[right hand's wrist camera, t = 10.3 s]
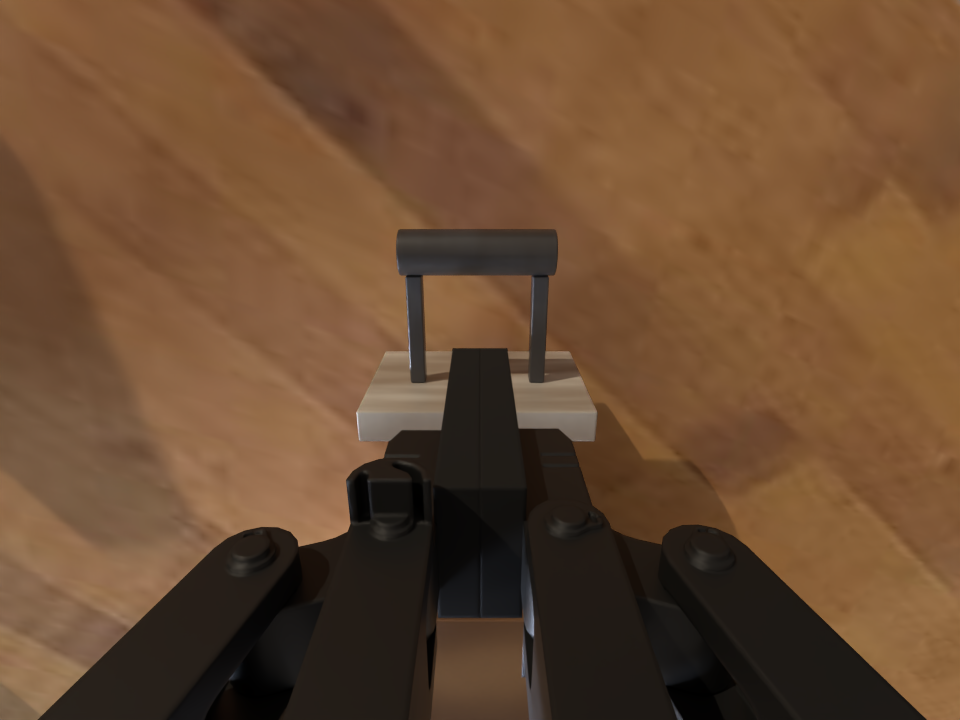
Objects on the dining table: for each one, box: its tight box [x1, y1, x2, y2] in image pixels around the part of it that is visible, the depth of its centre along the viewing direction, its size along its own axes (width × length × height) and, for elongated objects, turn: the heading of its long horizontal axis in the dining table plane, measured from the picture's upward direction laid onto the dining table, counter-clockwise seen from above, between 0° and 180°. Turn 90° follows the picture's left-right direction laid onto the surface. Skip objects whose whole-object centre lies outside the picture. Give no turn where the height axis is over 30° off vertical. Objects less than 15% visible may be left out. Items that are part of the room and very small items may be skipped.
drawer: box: [357, 229, 597, 441], centre depth 24 cm, size 25×8×6 cm, turn 0°
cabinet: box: [431, 609, 529, 720], centre depth 28 cm, size 20×10×8 cm, turn 0°
